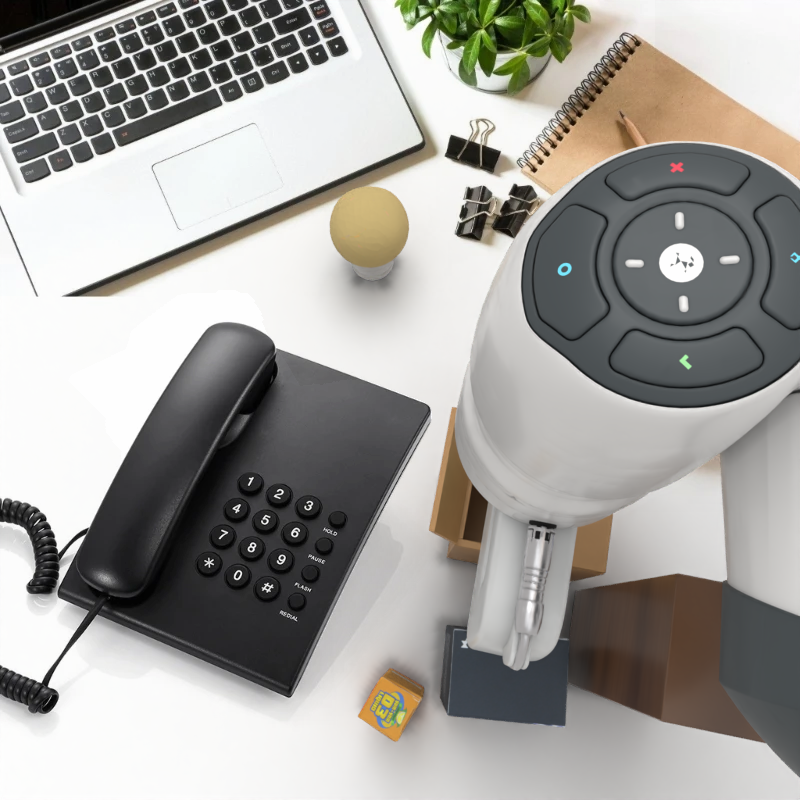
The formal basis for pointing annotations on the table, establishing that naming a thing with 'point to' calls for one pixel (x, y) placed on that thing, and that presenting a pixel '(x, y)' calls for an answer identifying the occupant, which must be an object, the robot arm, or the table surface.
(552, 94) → the table surface
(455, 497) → the flap
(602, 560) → the carton
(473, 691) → the box
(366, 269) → the light bulb
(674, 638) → the stand
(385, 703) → the supplement box
